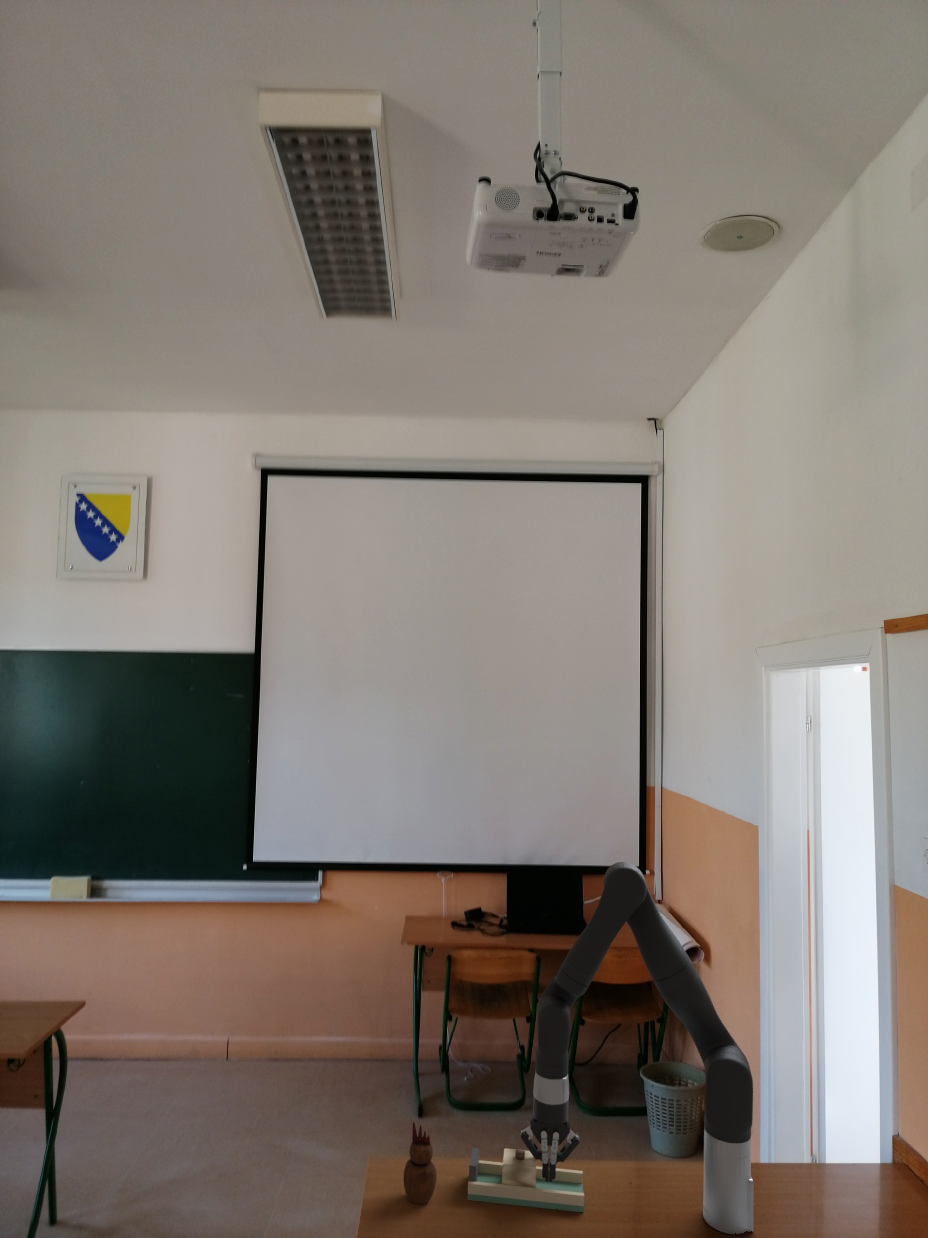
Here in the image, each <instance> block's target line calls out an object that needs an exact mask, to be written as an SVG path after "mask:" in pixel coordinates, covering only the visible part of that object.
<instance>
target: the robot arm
mask: <svg viewBox="0 0 928 1238" xmlns="http://www.w3.org/2000/svg"><path fill="white" fill-rule="evenodd" d="M602 884H603V890H602V893H601V896H600V899H599V901H598V904H597V905H596V909H595V910H594V913H593V915H592V917H591V918H590V920H589V921H588V923H587V925H586V927H585V928H584V929H583V930H582V932H581V933H580V935H579V936H578V937H577V939H576V940H575V942H573V944H572V947H571V948H570V950H569V951H568V953H567V954H566V957H565V958H564V960H563V962H562V964H561V966H560V967H559V969H558V972H557V973H556V974H555V976H554V978H553V979H551V981H550V983H548V985H547V987H546V988H545V989H544V990H543V992H542V994H541V995H540V997H539V1000H538V1002H537V1005H536V1015H537V1016H536V1017H537V1046H536V1051H535V1069H534V1070H535V1073H534V1078H533V1089H532V1094H533V1099H532V1102H533V1103H532V1119H531V1120H530V1122H529V1123H530V1125H528V1126H527V1127H526V1128H525V1127H522V1128H521V1130H520V1139H521V1140H522V1142H523V1144H524V1145H525V1146H526V1148H527V1149H528V1151H530V1152H531V1154H532V1155H533V1157H534V1158H535V1159H536V1161H537V1160H539V1161H541V1162H542V1163H541V1165H542V1166H541V1167H542V1177H543V1178H545V1182H552V1179H554V1180H555V1177H556V1168H557V1164H558V1163H563V1162H565V1161H566V1160H567V1158H569V1156H570V1155H571V1154H572V1152H573V1151H574V1150H575V1149H576V1148H577V1146H578V1145H579V1144H580V1136H579V1134H578V1133H577V1132H574V1131H573V1130H572V1129H571V1124H570V1123H569V1102H570V1100H569V1099H570V1098H569V1097H570V1082H569V1081H570V1080H569V1061H570V1059H569V1045H570V1036H571V1025H572V1024H571V1022H572V1021H571V1014H570V1013H571V1010H572V1008H573V1007H574V1004H575V1002H576V1000H577V999H578V998H579V997H582V996H583V995H584V994H585V993H586V992H587V990H588V989H589V986H590V985H591V983H592V981H593V979H594V977H595V976H596V974H597V972H598V970H599V968H600V966H601V964H602V963H603V961H604V958H605V957H606V955H607V953H608V951H609V950H610V947H611V945H612V944H613V941H614V940H615V938H616V937H617V935H618V934H619V933H620V931H621V929H622V928H623V926H624V925H625V923H627V925H628V926H629V929H630V931H631V932H632V936H633V937H634V939H635V943H636V945H637V947H638V949H639V953H640V955H641V958H642V961H643V963H644V965H645V968H646V970H647V972H648V974H649V976H650V977H651V979H652V981H653V983H654V985H655V987H656V989H657V990H658V992H659V994H660V996H661V997H662V999H663V1000H664V1002H665V1004H666V1005H667V1007H669V1009H670V1010H671V1012H673V1014H674V1015H675V1016H676V1018H677V1019H678V1020H679V1021H680V1022H681V1023H682V1024H683V1026H684V1027H685V1028H686V1030H687V1032H688V1034H689V1036H690V1037H691V1039H692V1041H693V1043H694V1045H695V1046H696V1049H697V1052H698V1054H699V1056H700V1059H701V1061H702V1065H703V1067H704V1075H705V1092H704V1093H705V1098H704V1099H705V1100H704V1101H705V1102H704V1103H705V1105H704V1107H705V1108H704V1116H703V1117H704V1119H703V1121H704V1122H703V1125H704V1127H703V1129H704V1130H703V1133H704V1134H703V1195H702V1196H703V1201H702V1209H703V1210H702V1212H703V1213H702V1215H703V1218H704V1219H703V1220H704V1221H705V1222H706V1223H707V1224H708V1225H709V1226H710V1227H711V1228H713V1229H715V1230H717V1231H719V1232H721V1233H725V1234H727V1235H729V1234H730V1235H741V1233H742V1234H745V1233H747V1232H751V1231H752V1232H754V1180H753V1178H752V1174H751V1172H752V1171H751V1170H752V1166H751V1164H752V1160H751V1159H752V1127H753V1122H754V1121H753V1118H754V1117H753V1116H754V1115H753V1114H754V1113H753V1112H754V1110H753V1109H754V1080H753V1074H752V1071H751V1067H750V1064H749V1061H748V1058H747V1057H746V1054H745V1053H744V1052H743V1051H742V1049H741V1048H740V1046H739V1045H738V1043H737V1041H736V1040H735V1039H734V1037H733V1036H732V1035H731V1034H730V1032H729V1031H728V1029H727V1027H726V1026H725V1024H724V1023H723V1021H722V1020H721V1017H720V1016H719V1015H718V1013H717V1010H716V1008H715V1006H714V1004H713V1001H712V998H711V996H710V995H709V993H708V990H707V989H706V988H707V987H706V986H705V984H704V982H703V981H702V979H701V976H700V974H699V973H698V970H697V969H696V967H695V965H694V964H693V962H692V960H691V958H690V957H689V955H688V953H687V952H686V950H685V948H684V947H683V945H682V944H681V942H680V940H679V939H678V938H677V936H676V935H675V934H674V932H673V930H672V929H671V928H670V926H669V925H668V924H667V922H666V921H665V919H664V917H663V916H662V915H661V913H660V911H659V909H658V907H657V906H656V903H655V901H654V898H653V896H652V893H651V892H650V890H649V887H648V885H647V882H646V878H645V876H644V874H643V872H642V871H641V870H640V869H639V868H638V867H637V866H636V865H634V864H632V863H630V862H627V861H618V862H615V863H613V864H611V865H610V866H609V867H608V868H607V870H606V872H605V873H604V876H603V883H602ZM533 1135H534V1137H535V1138H536V1140H537V1141H538V1143H539V1144H541V1149H540V1148H539V1146H538V1145H537V1143H536V1142H535V1140H534V1139H533ZM566 1138H567V1139H566ZM565 1140H567V1141H566V1143H565V1144H564V1145H563V1146H562V1147H561V1149H559V1151H558V1147H559V1146H561V1145H562V1143H563V1142H564V1141H565ZM549 1146H550V1155H549ZM549 1157H550V1158H549ZM746 1231H747V1232H746ZM744 1232H745V1233H744ZM735 1233H736V1234H735Z"/></svg>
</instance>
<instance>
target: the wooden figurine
mask: <svg viewBox="0 0 928 1238" xmlns="http://www.w3.org/2000/svg"><path fill="white" fill-rule="evenodd" d="M422 1130H423V1127H422V1125H421V1124H420V1125H419V1129H418V1132H417V1128H416V1124H415V1122H414V1121H413V1122H412V1135H411V1136H412V1137H411V1138H412V1140H411V1143H410V1146H409V1159H408V1160H407V1161H406V1163H405V1166H404V1170H403V1187H404V1191H405V1194H406V1196H407V1199H408V1200H409V1201H410V1202H412V1203H414V1204H418V1205H422V1204H427V1203H428V1202H429V1201H430V1200H431V1199H432V1196H433V1195H434V1192H435V1189H436V1186H437V1179H438V1175H437V1172H438V1171H437V1168H436V1166H435V1164H434V1163H433V1161H432V1158H433V1156H434V1155H433V1154H434V1148H433V1146H432V1144H431V1137H430V1134H428V1135H427V1132H426V1130H423V1131H422Z"/></svg>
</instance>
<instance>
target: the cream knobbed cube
mask: <svg viewBox="0 0 928 1238" xmlns="http://www.w3.org/2000/svg"><path fill="white" fill-rule="evenodd" d="M502 1163H503V1171H502V1184H504V1185H513V1186H522V1187H532V1188H536V1166H537V1160H536V1159H535V1158H534V1157H533V1155H532V1154H531V1152H530V1151H529V1150H525V1149H522V1148H517V1149H515V1148H504V1150H503V1158H502Z"/></svg>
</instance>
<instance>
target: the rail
mask: <svg viewBox="0 0 928 1238" xmlns="http://www.w3.org/2000/svg"><path fill="white" fill-rule="evenodd" d="M502 1171H503V1162H499V1161H489V1160H481V1159H480V1148H478V1147H476V1148H475V1147H472V1148H471V1155H470V1161H469V1165H468V1182H467V1201H475V1202H482V1203H484V1202H486V1203H494V1204H504V1205H511V1206H521V1207H530V1208H537V1209H539V1208H541V1209H548V1210H556V1209H558V1210H557V1211H567V1212H577V1213H585V1192H584V1188H583V1187H584V1185H583V1177H584V1174H583V1173H584V1171H583V1170H576V1169H568V1168H558V1167H556V1177H555V1180H554V1179H552V1182H545V1178H543V1177H542V1166H538V1165H536V1188H532V1187H522V1186H513V1185H504V1184H502Z"/></svg>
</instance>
